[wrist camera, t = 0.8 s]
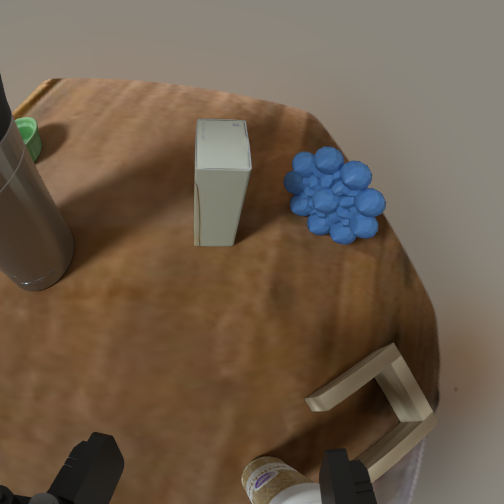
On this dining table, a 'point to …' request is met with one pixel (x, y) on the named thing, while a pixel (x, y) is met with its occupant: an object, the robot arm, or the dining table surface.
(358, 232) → the blue bumpy cluster
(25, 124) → the ramekin
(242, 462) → the dining table surface
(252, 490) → the spice jar
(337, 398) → the pocket
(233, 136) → the skincare box
